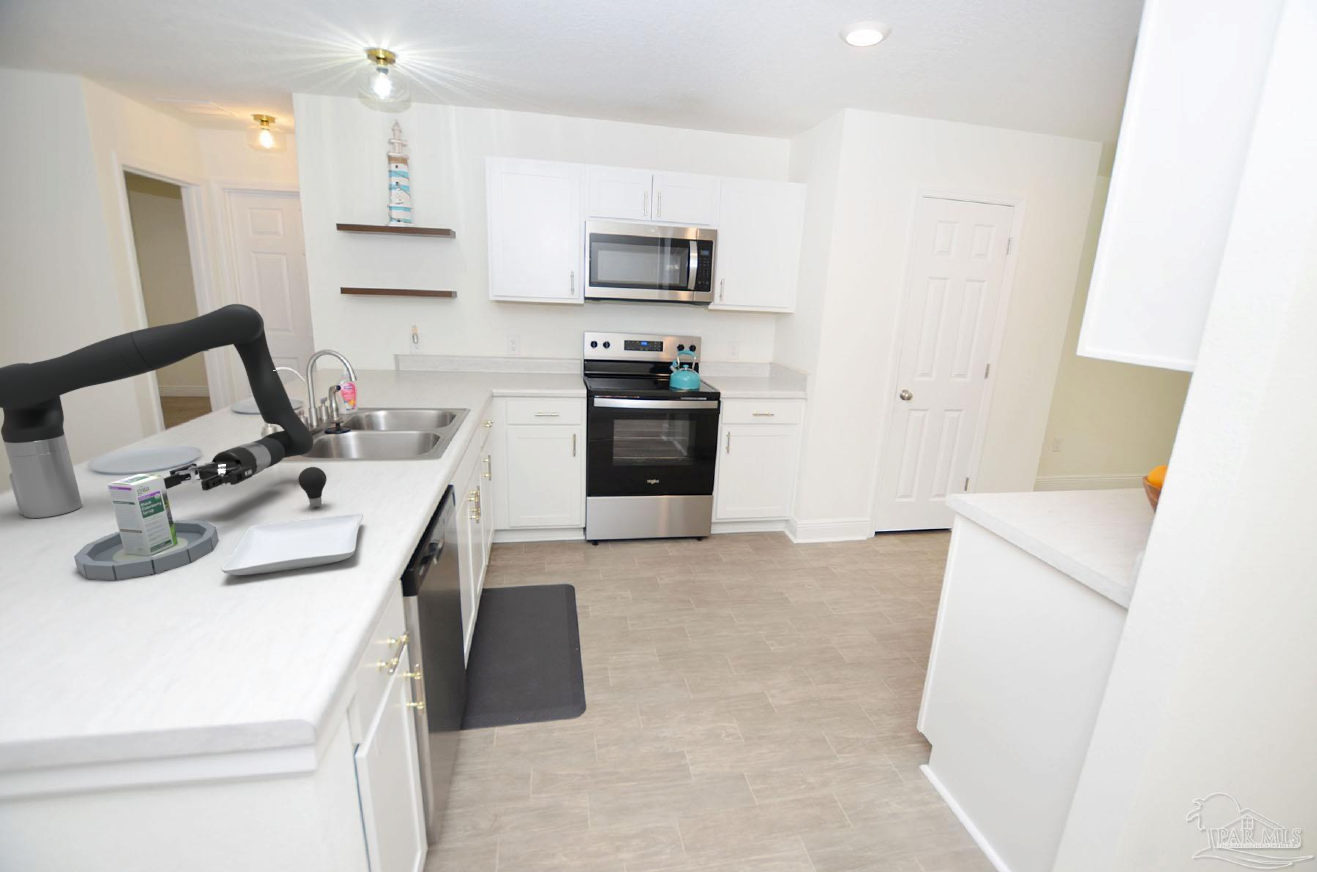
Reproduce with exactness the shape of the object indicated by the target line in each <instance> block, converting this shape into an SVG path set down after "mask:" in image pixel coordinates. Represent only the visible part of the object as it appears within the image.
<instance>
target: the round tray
mask: <svg viewBox="0 0 1317 872" xmlns="http://www.w3.org/2000/svg"><path fill="white" fill-rule="evenodd" d="M173 523H174V528H175V532H176V537H177V541H178V544H176V545H174V546H171V547H169V548H167V549H164V550H162V551H160V552H157V553H155V554H153V555H152V556H139V555H131V554H126V553H125V552H124V548H123V544H122V540H121V536H120V532H119V531H116V532H114V533H109V534H108V535H105V536H103V537H101V538H98V539H96V540H94V541H91V542H88V543H87V544H85V545H84V546H83V547H82V548H81V549H79V551H78V552H76V554H75V555H74V556H73V559H74V562H75V566H76V569H77V572H78V573H79V574H81V575H82V576H83V577H84V578H85V579H86V580H95V579H97V580H99V579H100V580H102V581H121V579H122V580H127V579H133V578H132V577H135V578H138V577H137V576H141V577H146V576H145V575H147V576H151V575H150V574H154V573H155V574H156V573H157V574H160V573H159V572H161V573H163V572H162V571H164V570H167V571H170V570H172V569H171V568H173V569H176V568H179V567H178V566H180V565H183V566H186V565H188V563H189V562H190V563H193V562H195V561H197V560H198V558H199V559H201V558H202V557H204V556H206V555H209V553H211V552H213V551H214V550H215V548H216V546H217V544H218V542H219V535H218V530H217V526H215V525H214V524H212V523H209V522H208V521H205V520H195V519H194V520H192V519H191V520H189V519H188V520H187V519H181V520H179V519H178V520H173ZM210 551H211V552H210ZM205 554H206V555H205ZM196 559H197V560H196ZM194 560H195V561H194ZM190 563H189V564H190ZM185 564H186V565H185ZM180 567H181V566H180ZM169 569H170V570H169ZM164 572H165V571H164ZM155 574H154V575H155ZM100 580H99V581H100Z"/></svg>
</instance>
